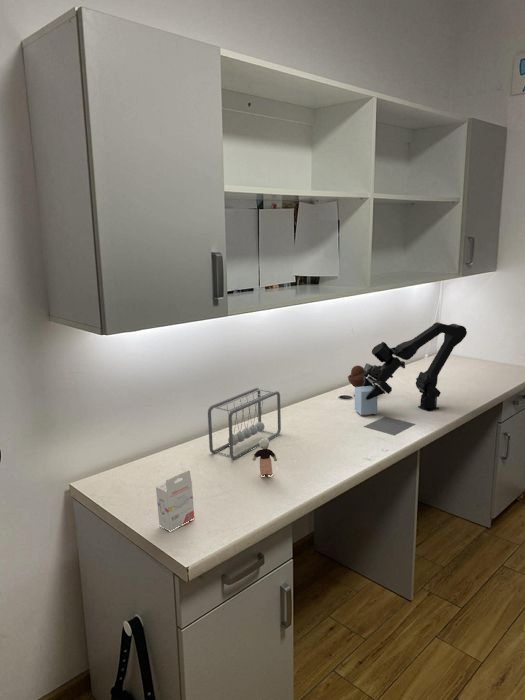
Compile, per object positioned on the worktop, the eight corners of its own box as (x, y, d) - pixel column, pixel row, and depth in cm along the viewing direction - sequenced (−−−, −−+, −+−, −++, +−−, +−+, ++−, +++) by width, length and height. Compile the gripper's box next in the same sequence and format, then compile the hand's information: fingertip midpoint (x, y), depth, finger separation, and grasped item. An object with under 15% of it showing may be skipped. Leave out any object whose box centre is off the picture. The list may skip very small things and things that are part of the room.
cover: (370, 408, 225) (370, 385, 223) (377, 413, 219) (377, 390, 216) (354, 409, 224) (354, 387, 222) (361, 415, 217) (361, 391, 215)
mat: (385, 417, 218) (385, 416, 218) (415, 425, 208) (415, 424, 208) (363, 427, 207) (363, 426, 207) (394, 436, 197) (394, 435, 197)
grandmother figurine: (275, 471, 170) (275, 435, 167) (278, 477, 166) (277, 439, 163) (252, 474, 169) (251, 437, 166) (254, 479, 165) (252, 441, 162)
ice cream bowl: (371, 399, 241) (372, 368, 238) (347, 399, 243) (347, 367, 240) (371, 393, 251) (372, 362, 248) (348, 392, 253) (348, 362, 250)
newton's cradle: (259, 429, 208) (258, 386, 205) (281, 434, 202) (280, 390, 199) (209, 454, 185) (206, 406, 181) (232, 461, 179) (230, 412, 175)
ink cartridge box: (183, 514, 146) (179, 464, 142) (194, 520, 142) (191, 469, 139) (158, 527, 139) (154, 475, 136) (169, 533, 136) (166, 481, 133)
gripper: (366, 352, 226) (342, 379, 226) (385, 361, 208) (358, 391, 208) (383, 368, 229) (359, 394, 229) (403, 379, 211) (377, 407, 212)
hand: (363, 396), depth 220 cm, fingers closed on cover, 7 cm apart
